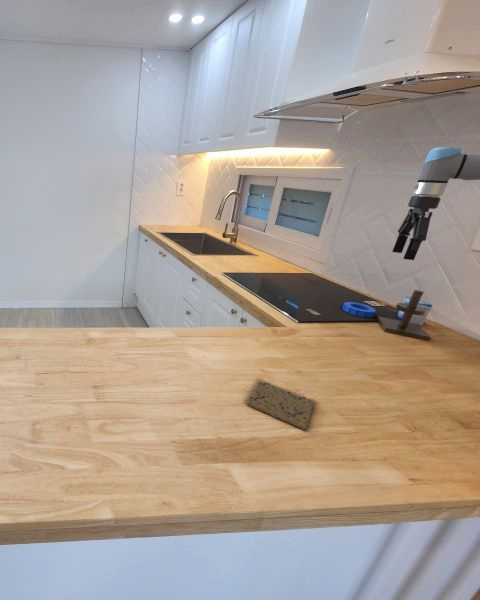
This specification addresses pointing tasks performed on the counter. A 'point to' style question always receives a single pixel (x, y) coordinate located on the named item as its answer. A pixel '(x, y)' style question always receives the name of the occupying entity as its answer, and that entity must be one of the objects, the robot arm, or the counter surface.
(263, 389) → the cookie
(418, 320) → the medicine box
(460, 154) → the robot arm
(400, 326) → the stand
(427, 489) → the counter surface
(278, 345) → the counter surface
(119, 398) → the counter surface
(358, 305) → the blue plastic ring
